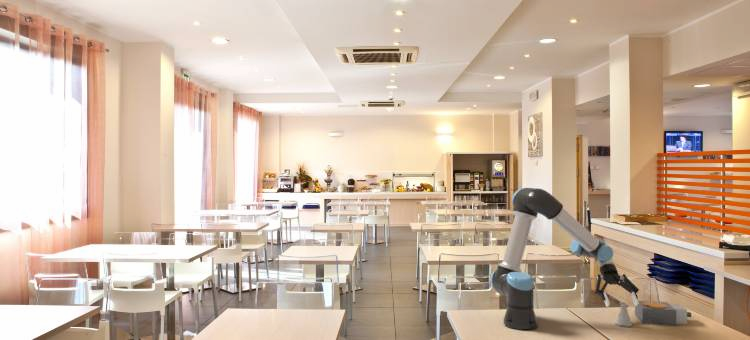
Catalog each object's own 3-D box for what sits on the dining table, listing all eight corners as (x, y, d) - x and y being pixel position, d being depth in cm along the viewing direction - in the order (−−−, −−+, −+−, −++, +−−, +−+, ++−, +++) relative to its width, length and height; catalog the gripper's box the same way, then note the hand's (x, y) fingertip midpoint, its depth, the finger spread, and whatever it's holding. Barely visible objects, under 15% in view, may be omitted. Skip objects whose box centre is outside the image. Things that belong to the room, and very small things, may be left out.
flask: (634, 327, 221) (634, 305, 221) (617, 326, 222) (617, 304, 222) (629, 323, 228) (629, 301, 228) (613, 322, 229) (613, 300, 229)
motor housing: (642, 323, 227) (642, 307, 227) (635, 314, 241) (634, 299, 241) (696, 326, 222) (696, 310, 222) (685, 317, 235) (685, 302, 235)
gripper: (629, 271, 246) (646, 309, 231) (579, 271, 246) (593, 310, 230) (634, 262, 240) (652, 301, 225) (584, 263, 240) (598, 301, 225)
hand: (622, 305), depth 228 cm, fingers open, 13 cm apart
